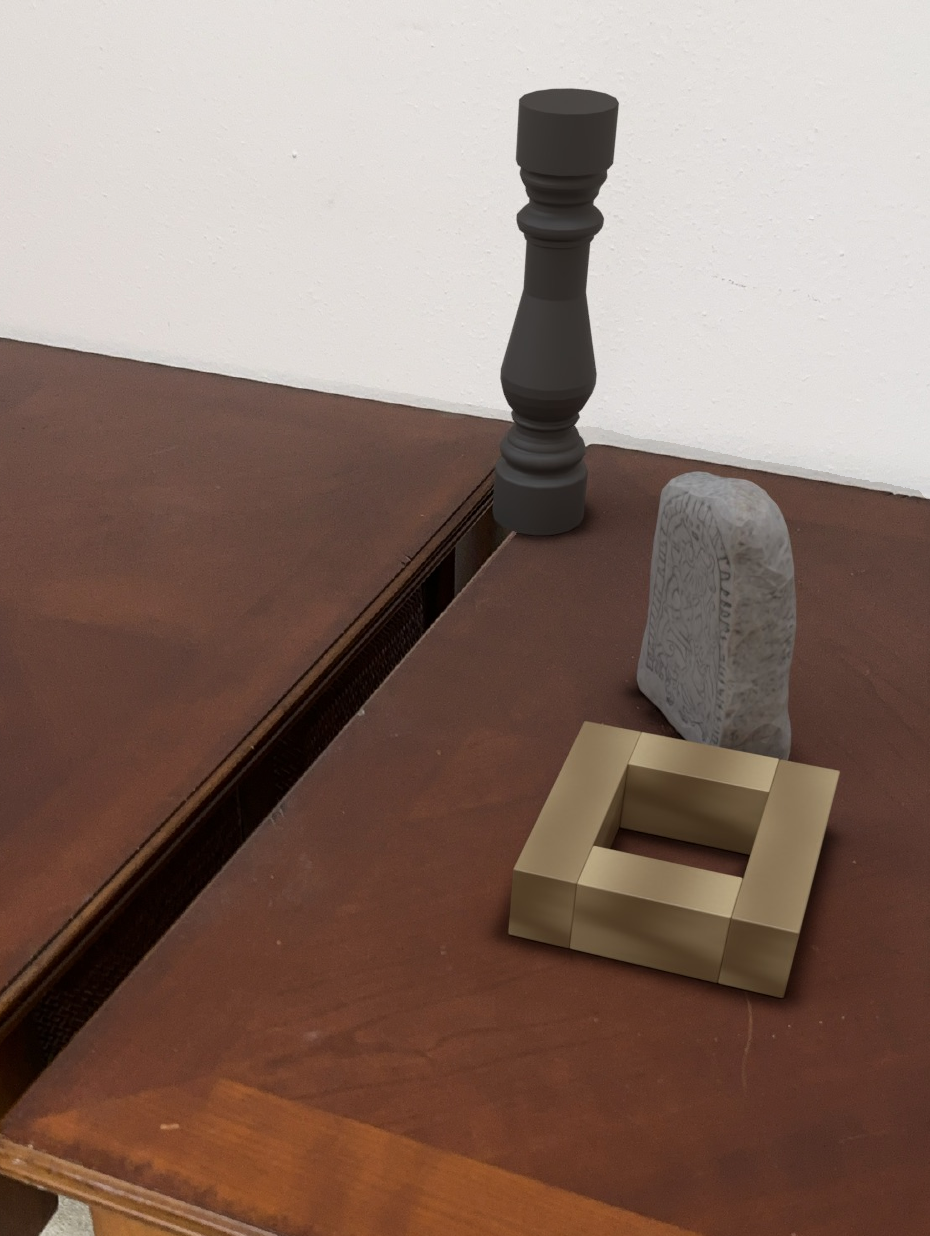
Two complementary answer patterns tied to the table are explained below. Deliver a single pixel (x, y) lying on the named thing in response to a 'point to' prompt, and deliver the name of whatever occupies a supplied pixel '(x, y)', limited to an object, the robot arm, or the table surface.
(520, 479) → the candle holder
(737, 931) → the socket stand
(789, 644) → the decorative stone
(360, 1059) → the table surface
